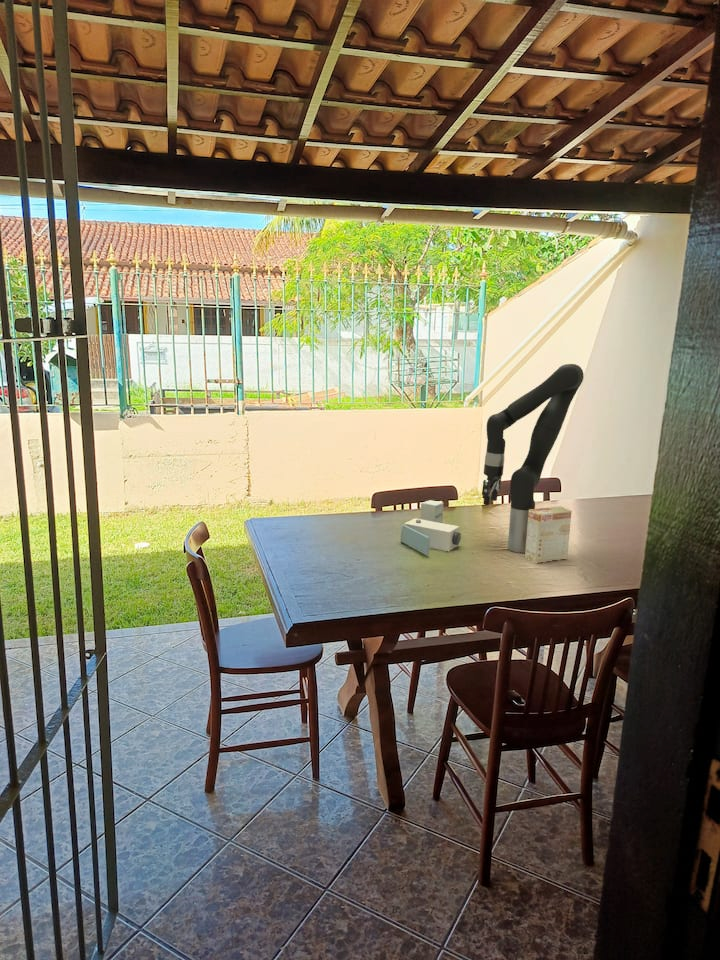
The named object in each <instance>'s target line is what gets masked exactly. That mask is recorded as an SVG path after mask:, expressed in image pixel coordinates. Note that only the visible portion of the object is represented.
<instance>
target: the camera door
mask: <svg viewBox="0 0 720 960" xmlns="http://www.w3.org/2000/svg"><path fill="white" fill-rule="evenodd" d="M400 542H401V543H403V544H405V545H407V546H409V547H411V548H413V549H415V550H416V551H418V552H420V553H422V554H424V555H425V556H429V555H430V548H429V542H430V537H428V536H426V535H424V534H422V533H420V532H418V531H416V530H414V529H412V528H410V527H408V526H406V525H404V523H401V527H400Z"/></svg>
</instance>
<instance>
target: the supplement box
mask: <svg viewBox="0 0 720 960" xmlns="http://www.w3.org/2000/svg"><path fill="white" fill-rule="evenodd" d="M419 519H422V520H427V521H433V522H438V523H444V522H443V521H444V502H442V501H438V500H431V499H429V500H426V501H423V502H421V503H420V518H419Z"/></svg>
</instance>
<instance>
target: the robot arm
mask: <svg viewBox="0 0 720 960" xmlns="http://www.w3.org/2000/svg"><path fill="white" fill-rule="evenodd" d="M583 381H584V371H583V369H582V367H581V366H579V365H577V364H576V363H575V364H574V363H567V364H563V365H561V366H559V367H558V368H557V369H556V370H555V371H554V372H553V373H552V374H551V375H550V376H549V377H548V378H546V379H545V380H544V381H543V382H542V383H540V384H539V385H538V386H536V387H535V388H533V389H532V390H530V391H528V392H527V393H525V394H523V395H522V396H520V397H519V398H517V399H515V401H512V402H511V403H510V404H509V405H508V406H507V407H506V408H505V409H503V410H502V411H499V412H498V413H495V414H492V415H490V416H489V417H488V419H487V422H486V438H487V442H486V443H487V444H486V453H485V456H484V467H483V474H484V475H485V476H486V477H487V478H486V479H483V484H482V491H481V495H482V496H483V503H482V504H483V505H484V506H489V505H490V503H491V502H490V500H491V501H494V502H496V501H498V494H499V493H498V492H499V491H500V490H501V486H502V476H504V467H505V449H506V439H505V438H504V431H505V430H507V429H509V428H510V427H511V426H512V425H514V424H515V423H517V421H520V420H521V419H523V418H524V417H526V416H528V415H529V414H531V413H532V412H534V411H535V410H536V409H538V408H539V407H540V406H542V404H544V403H545V402H547V401H548V400H549V401H548V402H547V403H546V405H545V407H544V408H543V410H542V411H541V413H540V414H539V416H538V418H537V420H536V422H535V425H534V428H533V430H532V433H531V436H530V444H529V449H528V453H527V455H526V458H525V459H524V461H523V463H522V465H521V466H520V468H517V469H516V470H515V471H514V472H513V473H512V475H511V477H510V484H509V485H510V486H509V488H510V489H509V501H510V512H509V527H508V538H507V550H509V551H511V552H515V553H520V552H521V553H524V554H525V551H526V538H527V525H528V512H529V509H536V501H535V500H534V492H535V488H536V486H538V484H539V482H540V479H541V476H542V472H543V470H544V466H545V463H546V461H547V458H548V456H549V455H550V453H551V451H552V449H553V447H554V446H555V443H556V441H557V439H558V436H559V434H560V432H561V429H562V427H563V425H564V421H565V419H566V417H567V413H568V410H569V408H570V405H571V403H572V401H573V399H574V398H575V395H576V393H577V392H578V390H579V389H580V386H581V385H582V383H583Z"/></svg>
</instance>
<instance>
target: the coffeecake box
mask: <svg viewBox="0 0 720 960" xmlns="http://www.w3.org/2000/svg"><path fill="white" fill-rule="evenodd" d="M572 512H573V510H570V509H568V508H566V507H564V506H561V505H560V506H553V507H552V506H551V507H542V508H535V509H529V512H528V525H527V538H526V551H525V553H524V558H525V559H526V558H527V559H526V560H528V559H529V560H528V561H530V560H531V561H533V562H535V563H536V562H543V563H547V562H546V561H551V562H553V561H552V560H558V561H560V560H559V559H565V558H567V559H568V555H569V554H568V553H569V544H570V543H569V541H570V534H571V533H570V531H571V530H570V529H571V519H572ZM531 561H530V562H531ZM533 562H532V563H533ZM535 563H534V564H535ZM536 564H537V563H536Z"/></svg>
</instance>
